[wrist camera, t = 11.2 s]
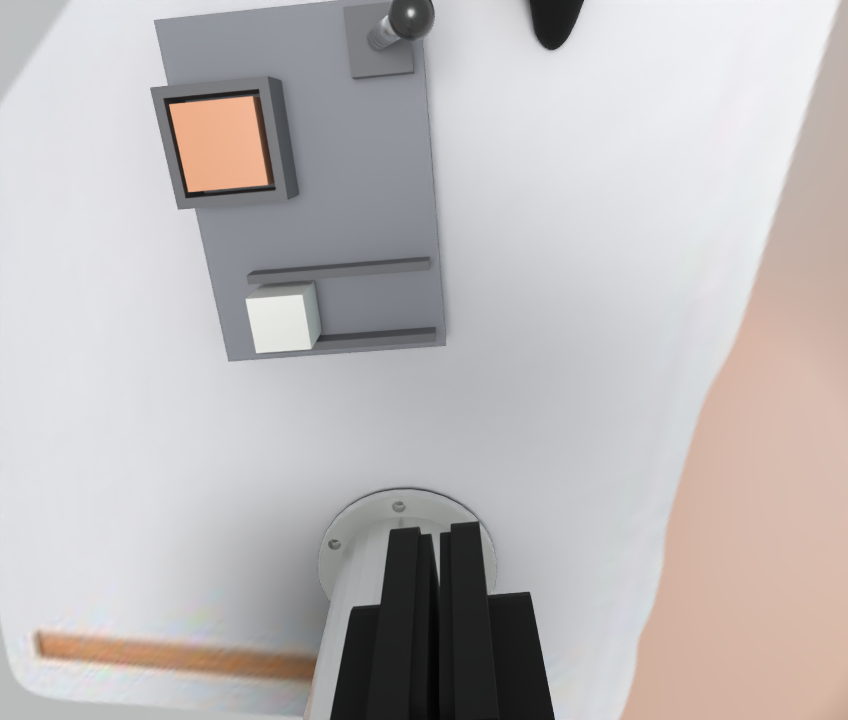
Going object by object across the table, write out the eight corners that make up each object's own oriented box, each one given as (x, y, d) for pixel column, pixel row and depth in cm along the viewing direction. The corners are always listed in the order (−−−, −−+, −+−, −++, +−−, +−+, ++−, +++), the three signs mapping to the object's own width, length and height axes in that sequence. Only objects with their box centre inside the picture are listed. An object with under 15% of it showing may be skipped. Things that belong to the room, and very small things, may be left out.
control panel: (445, 334, 37) (446, 361, 33) (239, 349, 38) (213, 378, 33) (419, 0, 30) (415, -21, 26) (171, 26, 31) (127, 10, 27)
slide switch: (321, 331, 35) (311, 349, 32) (271, 335, 35) (256, 353, 32) (314, 280, 34) (302, 294, 31) (261, 284, 34) (245, 298, 31)
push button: (277, 182, 31) (267, 185, 29) (201, 188, 31) (188, 192, 30) (263, 97, 30) (252, 96, 28) (184, 105, 30) (169, 104, 28)
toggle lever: (398, 58, 28) (442, 36, 23) (361, 60, 28) (397, 38, 22) (394, 15, 28) (439, -19, 22) (356, 16, 27) (392, -18, 22)
